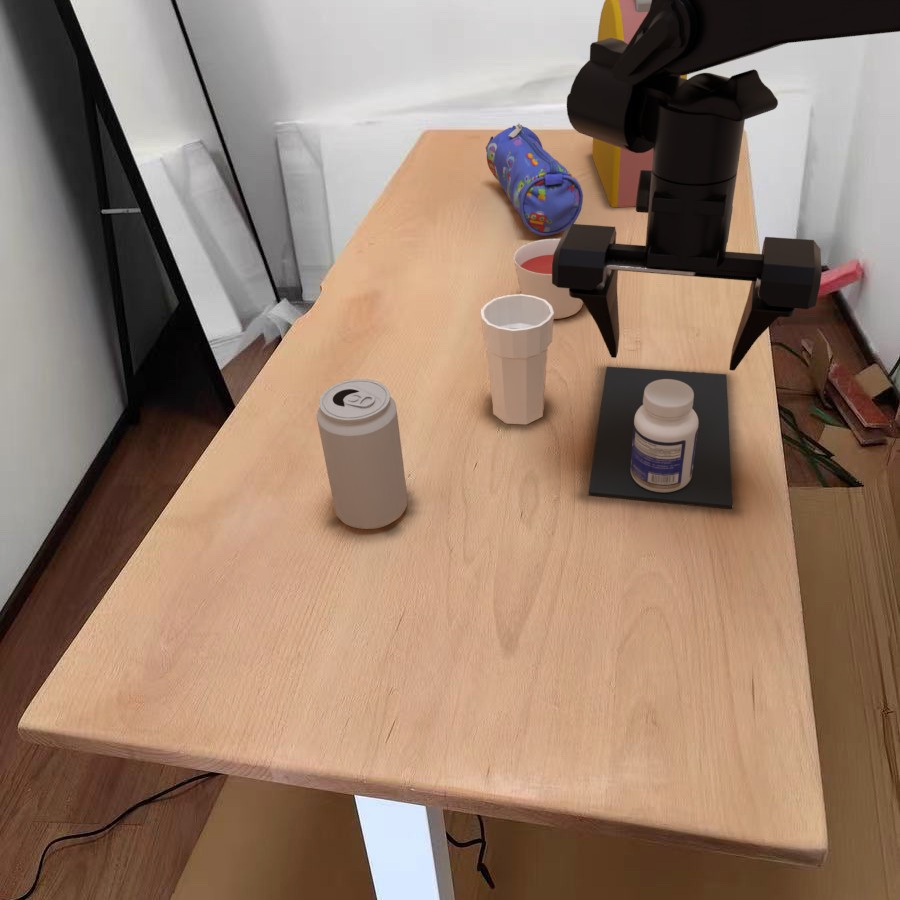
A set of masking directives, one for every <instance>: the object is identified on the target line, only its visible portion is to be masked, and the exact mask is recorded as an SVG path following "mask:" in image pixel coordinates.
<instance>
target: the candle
mask: <svg viewBox="0 0 900 900" xmlns="http://www.w3.org/2000/svg"><path fill="white" fill-rule="evenodd" d="M560 239H561V238H545V239H539V240H534V241H531V242H528V243H525V244H524V245H522V246H520V247H519V248H518V249H517V250H516V251H515V252H514V254H513V262H514V263H513V264H514V267H515V273H516V277H517V281H518V287H519V290H520V294H524V295H531V296H536V297H539V298H541V299H544V300H546V301H547V302H548V303H549V304H550V305H551V306H552V309H553V312H554V319H553V320H559V319H564V318H568V317H571V316H574V315H575V314H577V313H579V311H581V309H582V307H583V305H584V303H583V301H582V300H581V299H578V298H573V297H571V296H570V295H569V288H558V287H556V286H555V285H554V284H552V262H553V256H554V252H555V250H556V248H557V246H558V244H559V241H560Z"/></svg>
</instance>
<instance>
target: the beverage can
mask: <svg viewBox="0 0 900 900" xmlns="http://www.w3.org/2000/svg"><path fill="white" fill-rule="evenodd" d="M318 400H319V401H318V406H319V408H318V409H317V413H316V421H317V426H318V431H319V436H320V441H321V446H322V452H323V456H324V457H323V458H324V462H325V467H326V472H327V477H328V482H329V487H330V493H331V498H332V503H333V509H334V513H335V514H336V517H337V518H338V519H339V520H340V521H341V522H342V523H343V524H345V525H346V526H349V527H351V528H355V529H362V530H375V529H379V528H383V527H387V526H388V525H390V524H392V523H393V522H396V521H397V520H398V519H399V518H400V517H401V516H402V515H403V514H404V512H405V511H406V509H407V506H408V500H409V499H408V489H407V482H406V481H407V480H406V474H405V465H404V457H403V450H402V449H403V448H402V443H401V434H400V433H401V432H400V426H399V425H400V424H399V418H398V416H399V415H398V409H397V404H396V403H397V402H395V400H394V398H392V397H391V391H390V390H389V389H388V387H387V386H386V385H384V384H383V383H382V382H380V381H378V380H374V379H370V378H351V379H346V380H343V381H340V382H337V383H335V384H333V385H331V386H329V387H328V388H327V389H325V390H324V391H323V392H322V394H321V395H320V397H319V399H318Z"/></svg>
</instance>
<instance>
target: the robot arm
mask: <svg viewBox="0 0 900 900" xmlns="http://www.w3.org/2000/svg"><path fill="white" fill-rule="evenodd" d="M898 32H900V0H652V2H651V6H650V10H649V12H648V14H647V15H646V17H645V18H644V20H643V22H642V23H641V25H640V26H639V28H638V30H637V31H636V33H635V34H634V36H633V38H632V39H631V41H630V42H629V44H627V43H626V42H624V41H622V40H619V39H615V38H609V39H605V40H601V41H597V40H596V41H594V42H591V44H590V45H589V60H588V61H587V62H585V64H584V65H583V66H582V67H581V68H580V70H579V71H578V73H577V74H576V76H575V77H574V80H573V82H572V85H571V88H570V92H569V93H568V94H567V97H566V113H567V118H568V121H569V123H570V125H571V126H572V128H573V130H575V131H576V132H578V133H579V134H582V135H584V136H587V137H589V138H592V139H593V138H595V139H598V140H601V141H604V142H606V143H609V144H612V145H615V146H618V147H620V148H623V149H626V150H629V151H632V152H635V153H644V152H647V151H649V150H651V149H652V148H654V150H653V162H652V170H641V171H640V177H639V184H638V190H637V199H636V206H635V212H636V213H644V214H647V222H646V234H645V245H641V244H626V243H617V229H616V226H610V225H597V224H596V225H595V224H594V225H593V224H580V223H573V224H571V225H570V226H569V227H568V228H567V229H566V230H564V231H563V233H562V235H561V237H560V238H559V239H560V241H559V244H558V246H557V248H556V250H555V252H554V256H553V262H552V284H554V285H555V286H556V287H558V288H569V295H570V296H571V297H573V298H578V299H581V300H582V301H583V305H584V307H585V308H586V309H587V311H588V312H589V313H588V314H589V315H590V316H591V317H592V319H593V320H594V322H595V324H596V326H597V328H598V330H599V332H600V335H601V337H602V339H603V342H604V344H605V346H606V348H607V351H608V353H609V355H610V357H611V358H613V359H616V358H617V357H618V353H619V346H620V319H619V317H620V316H619V298H618V297H619V296H618V274H619V271H621V272H632V273H633V272H635V273H646V274H656V275H657V274H658V275H671V276H683V277H694V278H708V279H721V280H733V281H747V282H751V283H750V287H749V291H748V295H747V299H746V302H745V305H744V308H743V312H742V314H741V318H740V322H739V324H738V328H737V331H736V334H735V337H734V341H733V344H732V348H731V355H730V361H729V367H728V370H729V371H735V370H736V369H737V368H738V366H740V363H741V362H742V361H743V359H744V358H745V356H746V355H747V354H748V352H749V351H750V350H751V348H752V347H753V345H754V344H755V342H756V341H757V340H758V339H759V338H760V337H761V336H762V335H763V333H764V332H766V330H768V328H769V327H770V326H771V325H772V324H773V323H774V322H776V320H777V319H778V318H789V317H792V316H793V315H794V313H795V309H800V310H801V309H802V310H809V309H811V308H814V307H816V305H817V300H818V297H819V292H820V288H821V282H822V275H823V272H822V271H823V270H822V253H821V252H822V251H821V250H822V249H821V247H820V246H819V245H818V244H817V242H816V241H815V240H814V239H804V238H789V237H776V236H764V240H763V244H762V249H761V253H752V252H739V251H738V252H737V251H727V247H728V243H729V235H730V230H731V223H732V215H733V210H734V209H733V207H734V206H733V204H734V198H735V197H734V196H735V190H736V182H737V177H738V168H739V162H740V156H741V148H742V144H743V143H742V141H743V136H744V127H745V122H746V120H748V119H751V118H753V117H757V116H759V115H763V114H765V113H768V112H771V111H773V110H776V109H777V107H778V105H779V100H778V98H777V97H776V96H775V94H774V93H773V91H772V90H771V89H770V88H769V87H768V86H767V85H766V84H765V83H764V82H763V81H762V79H761V77H760V74H759V72H758V70H757V69H755V68H754V69H753V68H752V69H749V70H747V71H744V72H741V73H738V74H733V75H732V76H730V77H727V76H723V75H719V74H715V73H712V72H701V71H703V70H707V69H710V68H713V67H717V66H720V65H723V64H726V63H730V62H733V61H737V60H740V59H743V58H746V57H750V56H753V55H756V54H759V53H762V52H764V51H768V50H771V49H775V48H777V47H780V46H783V45H787V44H791V43H801V42H812V41H822V40H831V39H840V38H851V37H858V36H859V37H860V36H870V35H878V34H879V35H880V34H889V33H890V34H891V33H898ZM697 72H701V73H698V74H695V75H693V76H691V77H689V78H687V79H683V78H680V75H687V76H688V75H691V74H694V73H697Z"/></svg>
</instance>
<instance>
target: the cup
mask: <svg viewBox="0 0 900 900" xmlns="http://www.w3.org/2000/svg"><path fill="white" fill-rule="evenodd" d="M480 317H481V327H482V337H483V343H484V344H483V345H484V347H485V349H486V355H487V365H488V374H489V384H490V385H489V386H490V393H491V401H492V414H493V415H494V416H495V417H497V419H498V420H500V421H502V422H503V423H504V424H506V425H507V424H509V425H526V426H527V425H528V424H531V423H532V422H534V421H537V420H539V419H540V418H543V416H544V410H545V393H546V381H547V380H546V378H547V366H548V365H547V364H548V351H549V347H550V345H551V343H552V342H553V333H554V332H553V331H554V320H555V319H554V312H553V309H552V306H551V305H550V304H549V303H548V302H547V301H546V300H544V299H541V298H539V297H536V296H531V295H524V294H521V293H517V294H516V293H515V294H507V295H503V296H499V297H494V298H492V300H490V301H488V302H486V303H485V305H484V306H483V307H482V308H481V310H480Z"/></svg>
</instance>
